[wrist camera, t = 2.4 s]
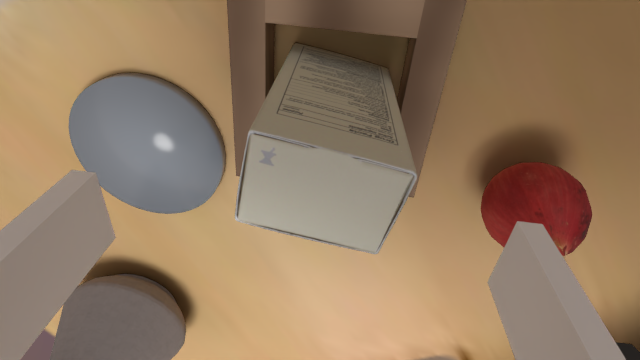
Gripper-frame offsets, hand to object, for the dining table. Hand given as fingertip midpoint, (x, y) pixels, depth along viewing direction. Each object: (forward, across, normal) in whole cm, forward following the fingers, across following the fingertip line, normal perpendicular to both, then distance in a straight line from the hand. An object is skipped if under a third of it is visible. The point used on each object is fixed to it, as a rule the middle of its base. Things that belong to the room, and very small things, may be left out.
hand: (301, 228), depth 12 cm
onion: (+14, -13, +5) cm, 20 cm away
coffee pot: (+14, +19, +29) cm, 38 cm away
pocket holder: (+14, 0, 0) cm, 14 cm away
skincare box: (+14, 0, 0) cm, 14 cm away
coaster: (+14, +13, +6) cm, 20 cm away
